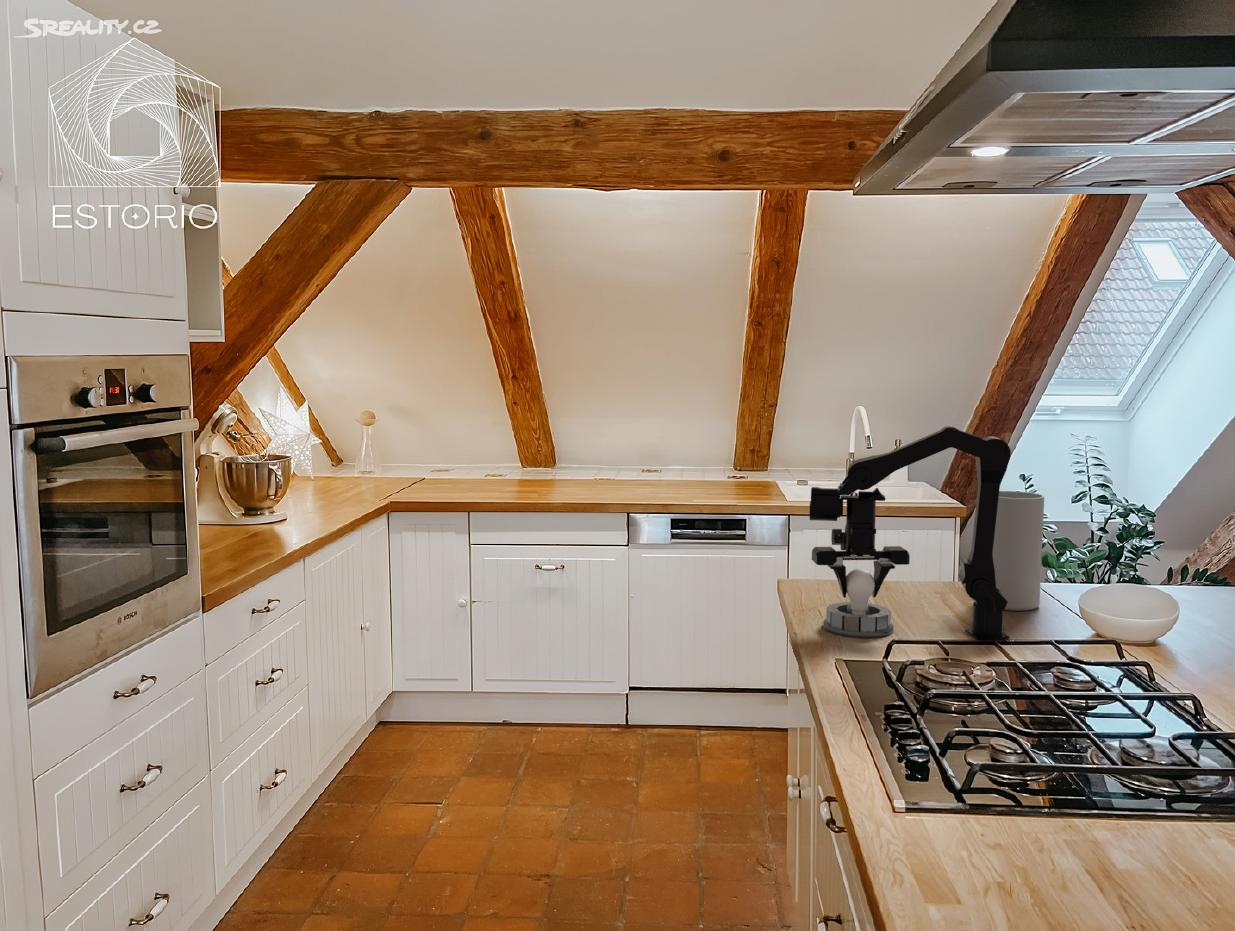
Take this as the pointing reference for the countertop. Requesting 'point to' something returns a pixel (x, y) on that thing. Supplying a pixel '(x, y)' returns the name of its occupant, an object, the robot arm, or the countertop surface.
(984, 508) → the robot arm
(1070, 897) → the countertop surface
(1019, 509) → the cylinder vase
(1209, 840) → the countertop surface
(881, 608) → the socket
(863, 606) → the lightbulb
